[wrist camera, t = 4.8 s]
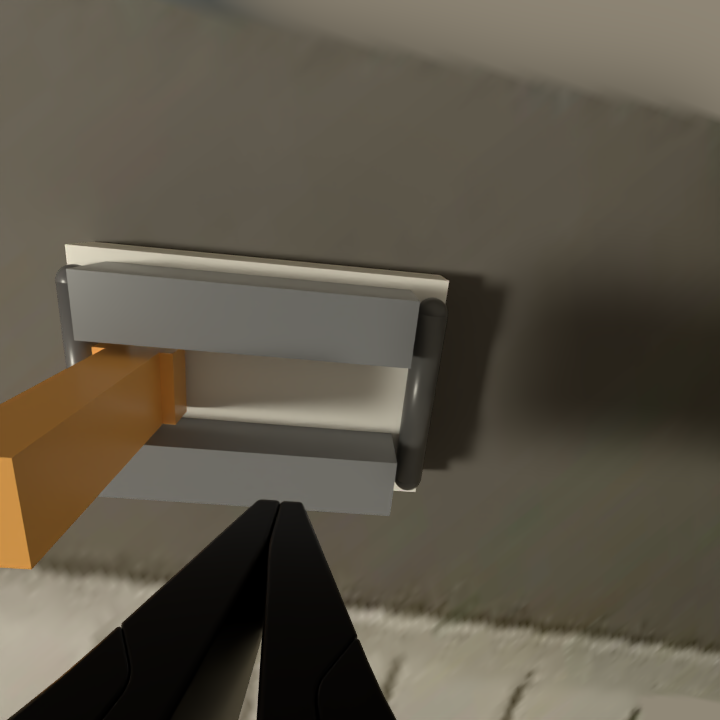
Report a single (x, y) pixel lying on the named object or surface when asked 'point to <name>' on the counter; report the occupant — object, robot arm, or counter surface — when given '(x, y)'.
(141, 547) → the counter surface
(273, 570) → the robot arm
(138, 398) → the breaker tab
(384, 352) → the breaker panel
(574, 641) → the counter surface
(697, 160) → the counter surface
